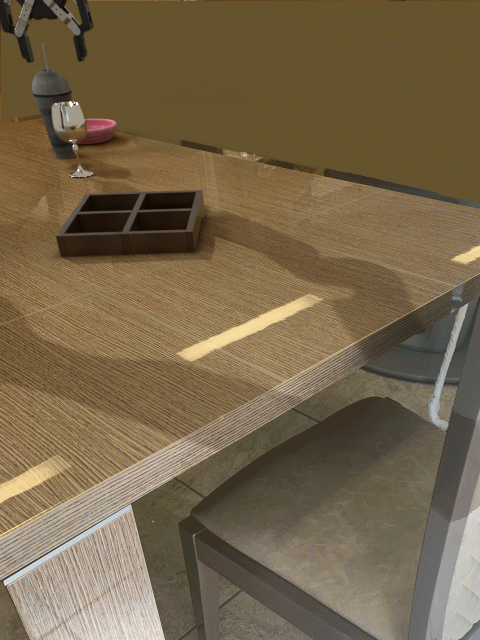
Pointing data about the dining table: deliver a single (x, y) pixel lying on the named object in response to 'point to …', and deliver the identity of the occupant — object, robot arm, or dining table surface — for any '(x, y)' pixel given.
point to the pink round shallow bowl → (99, 131)
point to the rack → (133, 223)
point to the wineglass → (71, 129)
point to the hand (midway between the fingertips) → (56, 61)
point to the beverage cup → (46, 93)
